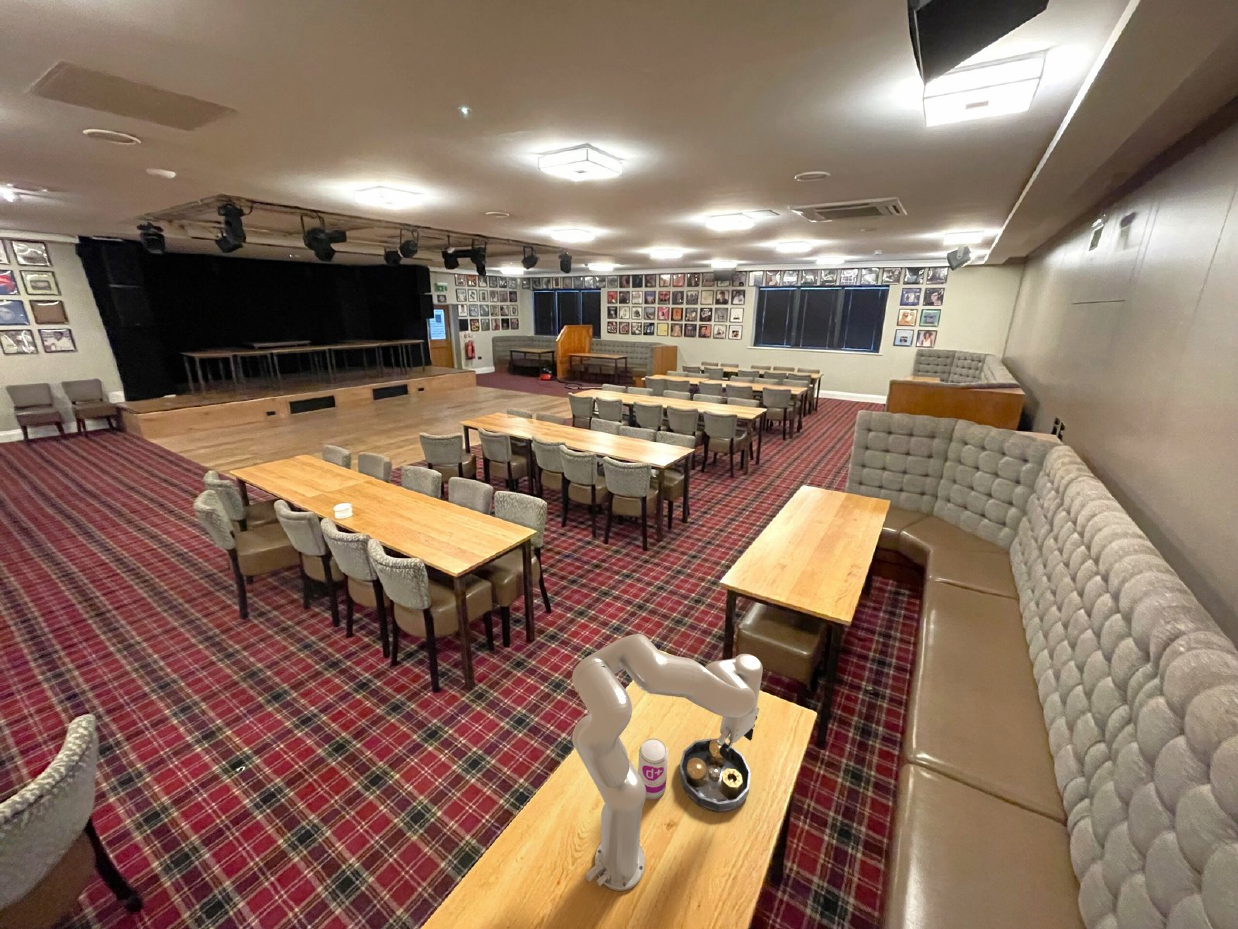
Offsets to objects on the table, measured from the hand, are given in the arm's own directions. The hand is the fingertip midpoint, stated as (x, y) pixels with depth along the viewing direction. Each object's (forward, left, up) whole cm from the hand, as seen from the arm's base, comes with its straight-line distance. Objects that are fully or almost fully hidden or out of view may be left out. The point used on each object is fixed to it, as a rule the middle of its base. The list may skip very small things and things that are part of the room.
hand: (735, 746), depth 135 cm
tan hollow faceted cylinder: (0, 0, -17) cm, 17 cm away
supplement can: (-16, +16, -18) cm, 29 cm away
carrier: (0, +6, -18) cm, 19 cm away
